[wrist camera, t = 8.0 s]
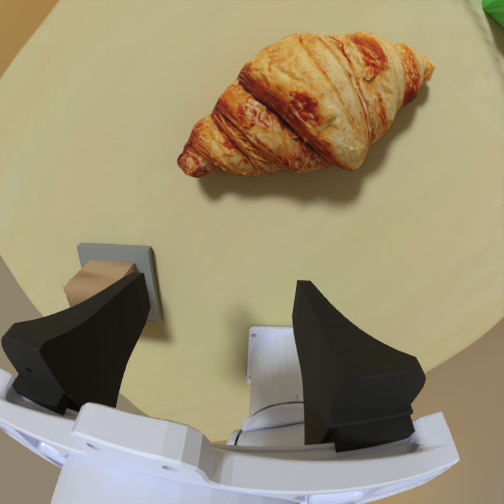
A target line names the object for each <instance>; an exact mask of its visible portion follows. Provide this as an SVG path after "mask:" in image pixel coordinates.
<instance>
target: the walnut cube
mask: <svg viewBox="0 0 504 504" xmlns="http://www.w3.org/2000/svg"><path fill="white" fill-rule="evenodd" d="M132 272H136V268H135V263H134V262H119V261H102V260H90V261H89V262H88V263H87V264H86V265H85V266H84V267H83V268H82V269H81V270H80V271H79V272H78V273H77V274H76V275H75V276H74V277H73V278H72V279H71V280H70V281H69V282H68V283H67V284H66V285H65V286H64V287H63V288H64V291H65V294H66V297H67V299H68V302H69V305H70V307H73V306H75V305H77V304H79V303H81V302H83V301H85V300H87V299H88V298H90V297H92V296H93V295H95V294H97V293H99V292H100V291H102V290H104V289H105V288H107V287H108V286H110V285H112V284H113V283H115V282H116V281H118V280H120V279H121V278H123V277H124V276H126V275H128V274H130V273H132Z"/></svg>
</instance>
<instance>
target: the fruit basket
mask: <svg viewBox="0 0 504 504" xmlns="http://www.w3.org/2000/svg"><path fill="white" fill-rule="evenodd" d="M482 4H483V9H484V11H486V12H487V13H489V14H490V15H491V16H492V18H494V19H495V20H496V21H497V22H498V23H499V24H500V25H501V26H502V27H504V0H483V1H482Z"/></svg>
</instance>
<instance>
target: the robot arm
mask: <svg viewBox="0 0 504 504" xmlns="http://www.w3.org/2000/svg"><path fill="white" fill-rule="evenodd" d="M150 308H151V305H150V301H149V296H148V291H147V286H146V280H145V275H144V273H140V272H132V273H130V274H128V275H126V276H124V277H123V278H121V279H120V280H118V281H116V282H115V283H113V284H112V285H110V286H108V287H107V288H105V289H104V290H102V291H100V292H99V293H97V294H95V295H93V296H92V297H90V298H88V299H87V300H85V301H83V302H81V303H79V304H77V305H75V306H73V307H70V308H68V309H65V310H63V311H60V312H58V313H55V314H52V315H49V316H46V317H42V318H39V319H35V320H30V321H24V322H19V323H14V324H13V325H12V326H11V327H10V329H9V330H8V331H7V332H6V333H5V335H4V336H3V337H2V339H1V341H2V347H3V350H4V352H5V353H6V355H7V357H8V359H9V360H10V362H11V363H12V365H13V366H14V368H15V369H16V371H17V372H18V373H19V375H18V376H17V378H15V377H14V376H13V375H11V374H10V373H8V372H6V371H5V370H3V369H1V368H0V428H1V429H2V430H3V431H4V432H6V433H7V434H8V435H10V436H11V437H12V438H14V439H15V440H17V441H18V442H20V443H21V444H23V445H24V446H26V447H27V448H29V449H30V450H32V451H33V452H35V453H36V454H38V455H39V456H41V457H43V458H44V459H46V460H48V461H49V462H51V463H53V464H55V465H56V466H58V467H60V468H62V471H61V474H60V476H59V479H58V482H57V485H56V488H55V491H54V494H53V498H52V501H51V504H364V503H367V502H371V501H375V500H378V499H382V498H385V497H388V496H391V495H394V494H397V493H400V492H403V491H406V490H408V489H411V488H414V487H417V486H419V485H422V484H424V483H426V482H428V481H430V480H431V479H433V478H435V477H436V476H437V475H439V474H440V473H442V472H444V471H445V470H447V469H448V468H450V467H451V466H452V465H454V464H455V463H457V462H458V461H459V455H458V452H457V450H456V447H455V444H454V442H453V439H452V436H451V434H450V431H449V429H448V426H447V424H446V421H445V419H444V416H443V414H442V412H440V411H439V412H436V413H433V414H430V415H426V416H423V417H420V418H417V419H416V420H414V421H413V422H412V420H411V417H410V415H411V414H412V413H413V410H412V407H411V403H412V402H413V400H414V399H415V398H416V397H417V395H418V394H419V393H420V391H421V389H422V388H423V386H424V384H425V380H426V377H425V374H424V372H423V370H422V368H421V366H420V364H419V362H418V360H417V358H416V357H414V356H412V355H409V354H406V353H404V352H401V351H399V350H396V349H394V348H392V347H390V346H388V345H386V344H384V343H382V342H380V341H378V340H376V339H375V338H373V337H372V336H370V335H368V334H367V333H365V332H364V331H362V330H361V329H359V328H358V327H357V326H355V325H354V324H353V323H352V322H350V321H349V320H348V319H347V318H345V317H344V316H343V315H342V314H341V313H340V312H339V311H338V310H337V309H336V308H335V307H334V306H333V305H332V304H331V303H330V302H329V301H328V300H327V299H326V298H325V297H324V296H323V294H322V293H321V292H320V291H319V290H318V289H317V288H316V286H315V285H314V284H313V283H312V282H311V281H304V280H297V286H296V293H295V300H294V307H293V314H292V320H293V327H263V326H252V327H250V329H249V344H248V363H247V383H248V384H251V387H250V412H249V417H248V418H243V419H242V429H237V430H235V431H234V432H233V433H232V434H231V436H230V437H229V439H228V440H227V443H226V445H225V444H213V443H210V441H209V440H208V439H207V438H206V437H205V435H204V434H203V433H202V432H201V431H199V430H197V429H195V428H193V427H191V426H189V425H186V424H182V423H178V422H175V421H171V420H166V419H160V418H155V417H150V416H145V415H140V414H136V413H132V412H128V411H124V410H120V409H116V404H117V399H118V394H119V390H120V386H121V382H122V378H123V375H124V372H125V369H126V365H127V363H128V360H129V358H130V356H131V353H132V351H133V349H134V347H135V345H136V343H137V341H138V339H139V337H140V335H141V332H142V330H143V328H144V326H145V324H146V321H147V318H148V315H149V311H150ZM252 334H256V335H252Z"/></svg>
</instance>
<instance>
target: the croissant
mask: <svg viewBox="0 0 504 504" xmlns="http://www.w3.org/2000/svg"><path fill="white" fill-rule="evenodd" d="M434 69H435V67H434V65H433V63H432V62H431V61H430V60H429V59H428V58H426V57H423V56H421V54H420V53H418V52H417V51H416V50H415V49H413V48H411V47H409V46H407V45H406V44H404V43H400V44H393V43H391V42H388V41H386V40H384V39H383V38H380V37H377V36H375V35H373V34H372V33H363V32H356V33H354V34H353V33H350V34H347V35H345V36H336V35H325V36H323V35H321V34H318V35H316V36H314V35H312V34H309V33H300V34H299V33H296V34H293V35H290V36H287V37H284V38H282V39H280V40H278V41H277V42H275V43H273V44H271V45H269V46H268V47H266V48H264V49H263V50H261V51H260V52H259V53H258V54H257V55H256V56H255V57H254V58H253V59H252V60H250V61H249V62H247V63H246V64H245V65H244V67H243V68H242V70H241V71H240V73H239V75H238V77H237V79H236V80H235V81H234V82H233V83H232V84H231V85H230V86H228V87H227V89H226V90H225V92H224V93H223V94H222V95H221V96H220V97H219V99H218V101H217V103H216V105H215V107H214V109H213V111H212V114H211V115H208V116H207V117H205V118H203V119H201V120H200V121H198V122H197V123H196V124H195V126H194V127H193V130H192V132H191V135H190V137H189V140H188V142H187V143H186V145H185V146H184V150H183V152H182V154H181V155H180V156H179V157H178V159H177V164H178V166H179V167H180V168H181V169H182V170H183V171H184V173H185V174H186V175H189V176H192V177H195V178H200V177H203V176H206V175H208V174H210V173H212V172H214V171H219V170H221V171H224V172H227V173H229V174H236V175H240V176H254V175H255V176H260V175H261V173H263V172H269V173H275V172H277V171H279V170H282V169H285V170H289V171H293V172H297V173H298V174H299V173H305V172H310V171H313V170H317V169H321V168H325V167H328V166H333V165H336V166H338V167H340V168H342V169H345V170H349V171H353V170H355V169H357V168H359V167H360V166H361V165H362V163H363V161H364V159H365V156H366V154H367V152H368V150H369V145H371V144H373V143H374V142H375V141H377V140H378V139H379V138H380V137H382V136H383V135H385V133H386V132H387V131H388V129H389V128H390V127H391V125H392V123H393V121H394V118H395V113H396V112H397V111H398V110H399V109H401V108H402V107H403V106H405V105H406V104H408V103H409V102H411V101H412V100H413V99H414V98H415V97H416V96H417V95H418V92H419V88H420V86H421V85H422V84H424V83H425V82H427V81H429V80H430V79H431V76H432V74H433V72H434Z"/></svg>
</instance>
